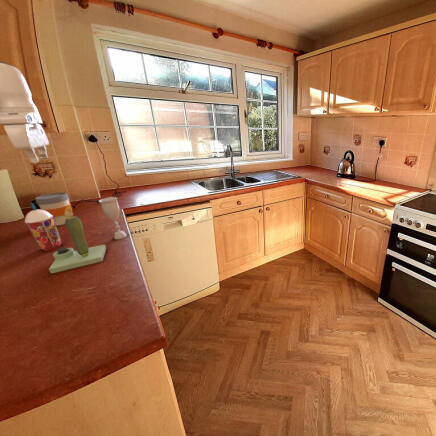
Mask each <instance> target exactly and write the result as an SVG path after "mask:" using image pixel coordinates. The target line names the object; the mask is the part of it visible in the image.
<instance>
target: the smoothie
mask: <svg viewBox="0 0 436 436" xmlns="http://www.w3.org/2000/svg"><path fill="white" fill-rule="evenodd" d="M30 205H31V206H32V210H31V211H29V212H28V213H27V214H26V215H25V219H24V223H25V225H26V226H27V228H28V229H29V230H28V231H30V233H31V235H32V236H33V238H34V240H35V242H36V243H37V245H38V247H39V248H40V249H42V250H43V251H47V252H48V251H52V250H57V249H59V248H61V247H62V243H63V242H62V239H61V236H60V233H59V231H58V228H57V225H56V224H55V221H54V218H53V215H51V214H50V213H49V212H47V211H45V210H40V208H39V209H37V208H36V205H35V204H34V203H32V202H31V204H30Z"/></svg>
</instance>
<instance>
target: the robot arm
mask: <svg viewBox="0 0 436 436" xmlns="http://www.w3.org/2000/svg"><path fill="white" fill-rule="evenodd" d="M32 95H33V94H32V92H31V89H30V87H29V84H28V83H27V81H26V78H25V76H24V75H23V73H22V72H21V70H20V69H19V68H17V67H15V65H12V64H10V63H8V62H4V61H1V60H0V125H2V126H3V129H4V131H5V133H6V135H7V137H8V139H9V141H10V143H11V145H12V146H13V147H14V148H15V149H16V150H18V151H20V150H22V151H23V152H24V154H25V155H26V156H27V158H29V161H30V163H32V164H33V163H35V164H36V163H39V162H40V160H43V161H44V160H48V159H49V155H48V152H47V147H46V146H49V145H50V141H49V139H48V136H47V134H46V132H45V129H44V128H43V126H42V125H41V124H43V123H44V122H43V120H42V117H41V115H40V113H39V110H38V107H37V106H36V104H35V103H34V101H33V97H32ZM35 149H36V150H37V151H38V154H39V155H37V154H36V152H35Z"/></svg>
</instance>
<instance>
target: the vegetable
mask: <svg viewBox="0 0 436 436" xmlns="http://www.w3.org/2000/svg"><path fill="white" fill-rule="evenodd" d="M71 211H72V212H71ZM65 216H66V217H67V218H66V220H65V224H64V225H65V227H66V229H67V231H68V233H69V235H70V237H71V239H72V243H73V246H74V249H75V251H76V250H77V252H78V254H80V255H81V256H82V257H85V256H87V255H89V253H88V251H89V249H88V248H89V246H88V242H87V240H86V236H85V233H84V225H83V223H82V221H81V219H80V218H79V217H78V216H76V215H74V213H73V209H72V210H71V209H70V207H67V208H66V210H65Z"/></svg>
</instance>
